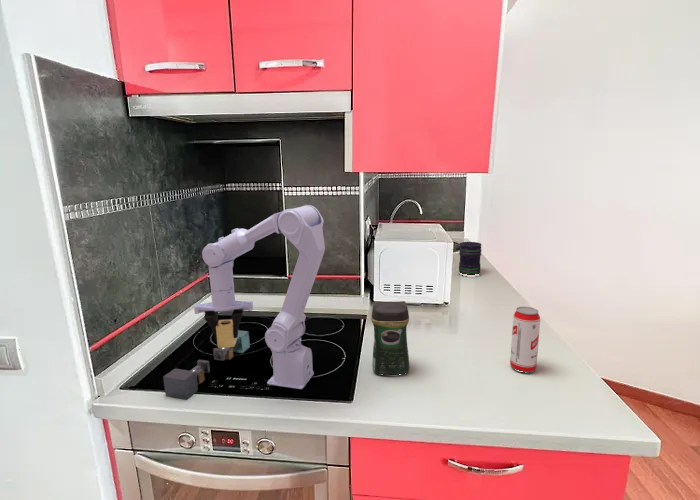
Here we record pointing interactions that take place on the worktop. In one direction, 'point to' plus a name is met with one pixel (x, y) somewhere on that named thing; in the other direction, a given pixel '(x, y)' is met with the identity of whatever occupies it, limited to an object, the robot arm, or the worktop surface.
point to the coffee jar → (390, 338)
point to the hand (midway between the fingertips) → (226, 337)
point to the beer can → (525, 339)
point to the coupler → (225, 333)
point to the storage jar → (470, 258)
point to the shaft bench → (200, 370)
